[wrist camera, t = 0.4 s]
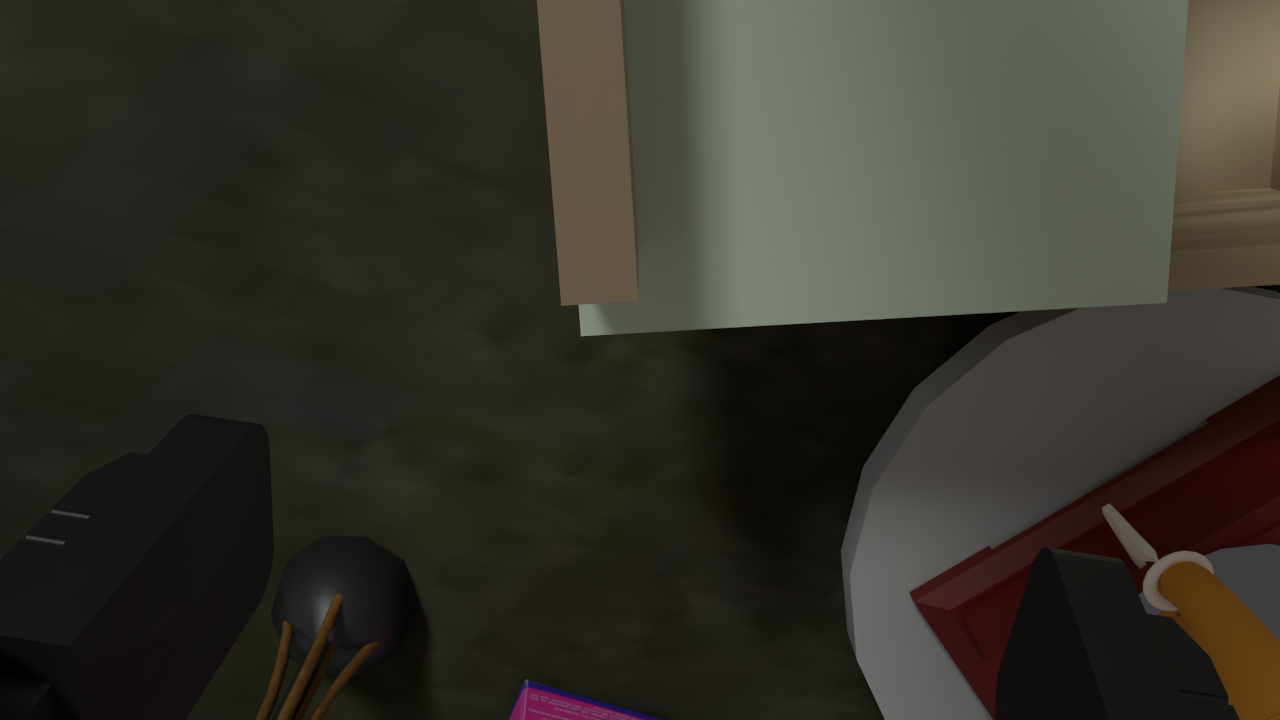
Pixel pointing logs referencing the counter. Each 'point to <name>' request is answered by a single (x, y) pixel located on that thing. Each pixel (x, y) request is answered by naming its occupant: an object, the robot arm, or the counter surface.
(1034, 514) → the gramophone
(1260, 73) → the wooden box
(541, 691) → the supplement box
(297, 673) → the wooden tabletop sculpture
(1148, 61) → the sliding lid
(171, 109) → the counter surface
